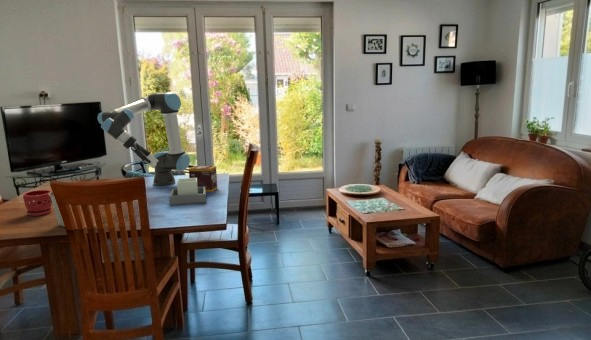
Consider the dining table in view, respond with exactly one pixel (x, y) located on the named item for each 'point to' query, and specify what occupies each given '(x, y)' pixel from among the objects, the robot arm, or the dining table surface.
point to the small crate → (187, 186)
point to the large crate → (187, 197)
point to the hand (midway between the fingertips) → (156, 164)
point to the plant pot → (38, 202)
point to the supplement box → (204, 177)
